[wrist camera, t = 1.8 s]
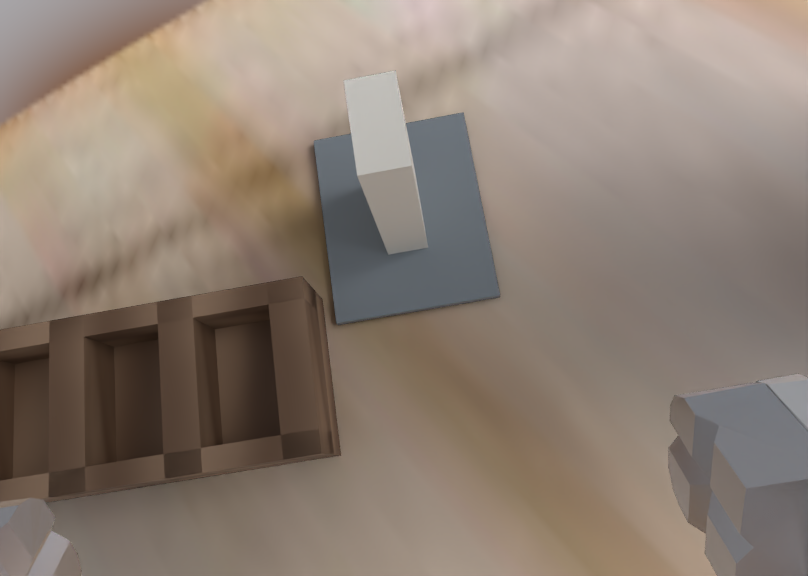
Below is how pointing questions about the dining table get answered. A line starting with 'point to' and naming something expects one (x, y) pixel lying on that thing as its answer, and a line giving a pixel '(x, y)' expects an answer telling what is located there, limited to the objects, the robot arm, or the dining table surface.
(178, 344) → the rack
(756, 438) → the robot arm
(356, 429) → the dining table surface
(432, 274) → the mat
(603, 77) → the dining table surface
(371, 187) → the block
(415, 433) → the dining table surface
